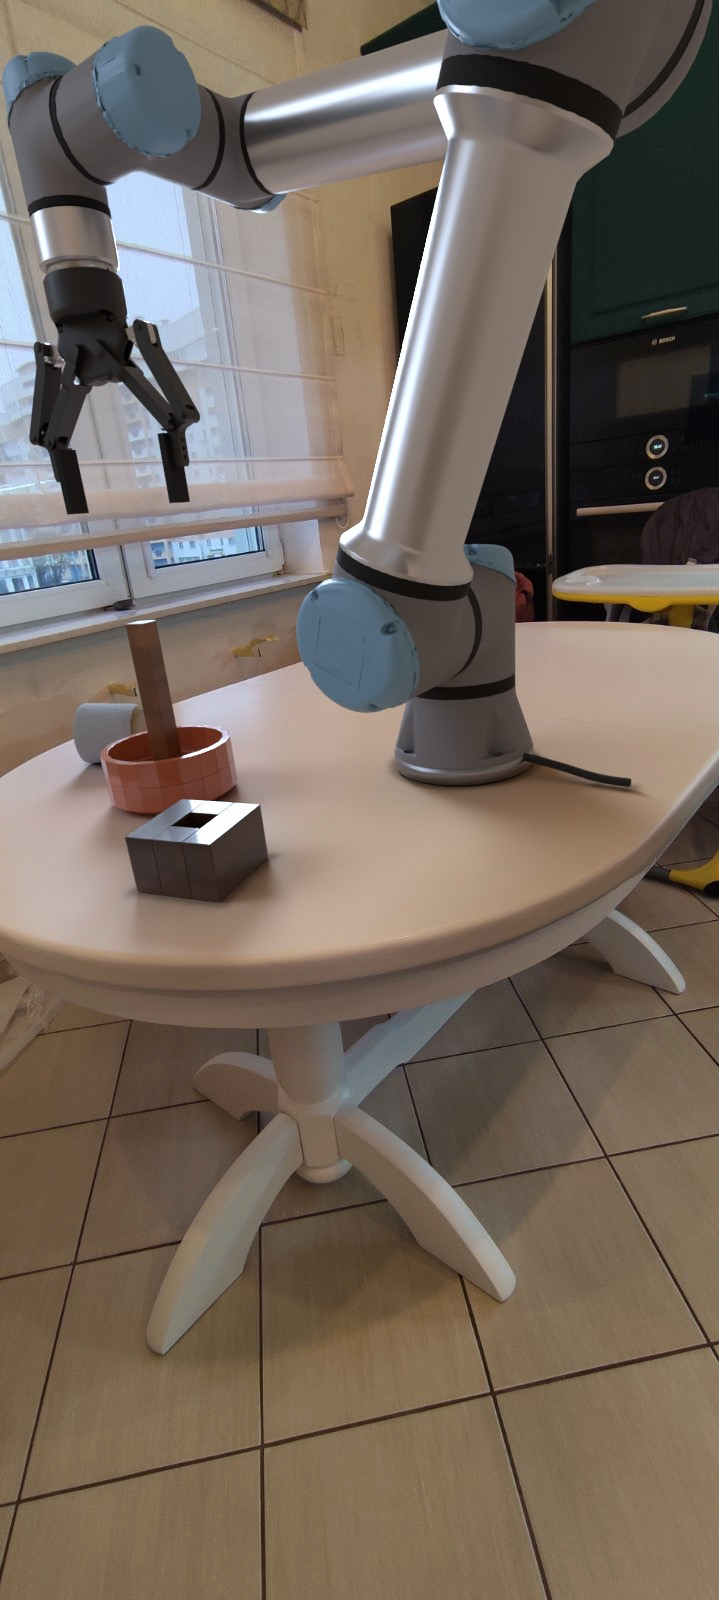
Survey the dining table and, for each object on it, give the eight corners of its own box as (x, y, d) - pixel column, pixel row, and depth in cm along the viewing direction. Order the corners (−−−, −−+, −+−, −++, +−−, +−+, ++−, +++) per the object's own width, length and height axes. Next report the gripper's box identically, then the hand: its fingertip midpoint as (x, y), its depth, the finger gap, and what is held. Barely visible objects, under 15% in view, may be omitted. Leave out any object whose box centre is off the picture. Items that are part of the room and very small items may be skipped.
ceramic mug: (142, 766, 90) (130, 706, 87) (79, 771, 91) (65, 711, 88) (168, 742, 100) (157, 687, 97) (110, 746, 101) (98, 692, 98)
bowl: (259, 775, 83) (252, 725, 81) (193, 823, 72) (182, 766, 70) (161, 770, 88) (152, 723, 86) (85, 814, 77) (72, 761, 75)
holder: (268, 856, 63) (260, 804, 61) (220, 902, 56) (209, 844, 55) (191, 849, 66) (181, 798, 64) (137, 892, 59) (124, 836, 57)
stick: (187, 784, 80) (156, 619, 74) (176, 792, 78) (142, 623, 72) (171, 783, 81) (138, 620, 74) (159, 790, 79) (124, 624, 73)
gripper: (211, 257, 69) (244, 496, 77) (15, 307, 79) (62, 516, 86) (165, 235, 63) (206, 498, 71) (-43, 292, 72) (14, 519, 80)
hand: (127, 508), depth 79 cm, fingers open, 13 cm apart
